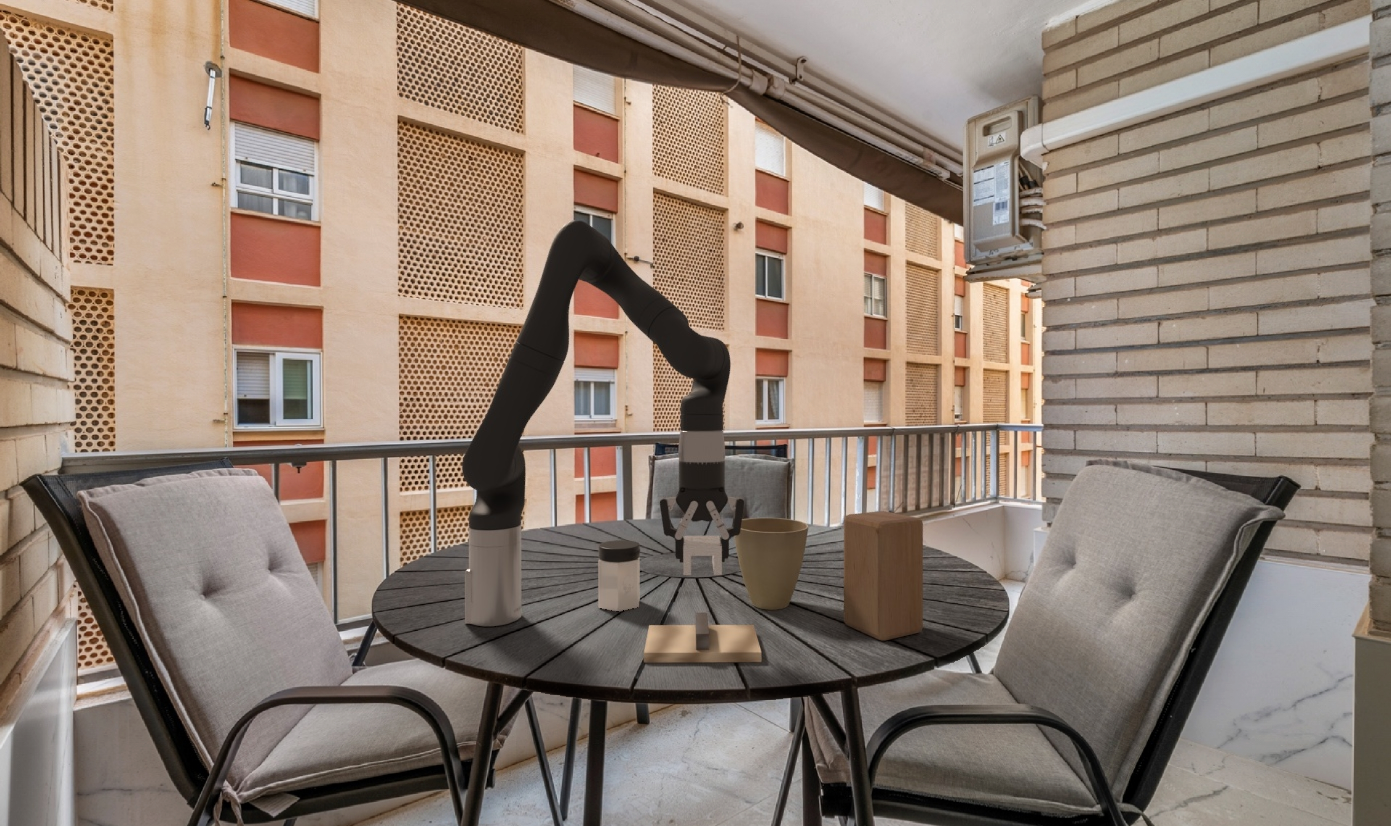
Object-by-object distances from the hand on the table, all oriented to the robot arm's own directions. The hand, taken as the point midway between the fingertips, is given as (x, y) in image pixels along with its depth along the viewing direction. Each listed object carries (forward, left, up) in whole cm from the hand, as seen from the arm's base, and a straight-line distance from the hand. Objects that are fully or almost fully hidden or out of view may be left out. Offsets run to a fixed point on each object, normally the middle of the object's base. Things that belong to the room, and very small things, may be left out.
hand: (701, 561), depth 100 cm
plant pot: (+14, +22, -14) cm, 30 cm away
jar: (-16, +22, -14) cm, 31 cm away
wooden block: (+32, +8, -14) cm, 36 cm away
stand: (0, 0, -14) cm, 14 cm away
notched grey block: (0, 0, -1) cm, 1 cm away
